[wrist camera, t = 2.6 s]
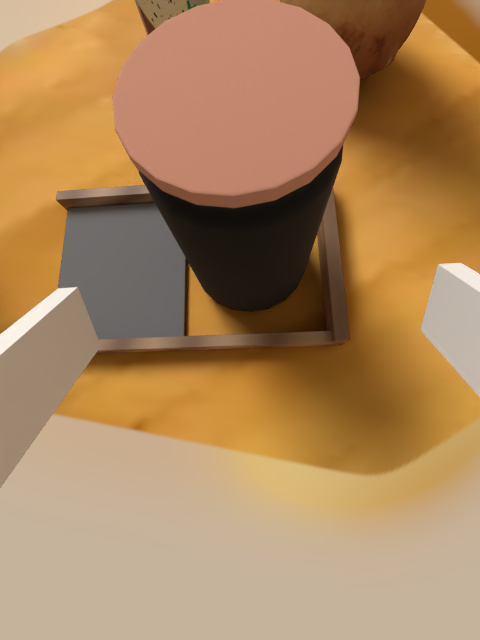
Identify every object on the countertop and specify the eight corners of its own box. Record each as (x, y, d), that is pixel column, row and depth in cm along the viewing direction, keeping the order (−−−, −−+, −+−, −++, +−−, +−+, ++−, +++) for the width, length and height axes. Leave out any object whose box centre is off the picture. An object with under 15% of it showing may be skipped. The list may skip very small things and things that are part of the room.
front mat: (54, 342, 30) (51, 341, 29) (70, 211, 33) (68, 208, 33) (185, 337, 29) (183, 336, 28) (187, 203, 32) (186, 200, 32)
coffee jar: (259, 197, 32) (256, -38, 15) (326, 271, 30) (419, 94, 12) (177, 255, 31) (67, 79, 14) (239, 337, 29) (201, 248, 11)
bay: (48, 355, 30) (24, 350, 27) (67, 201, 34) (49, 183, 31) (340, 344, 28) (350, 339, 25) (324, 184, 32) (330, 163, 29)
